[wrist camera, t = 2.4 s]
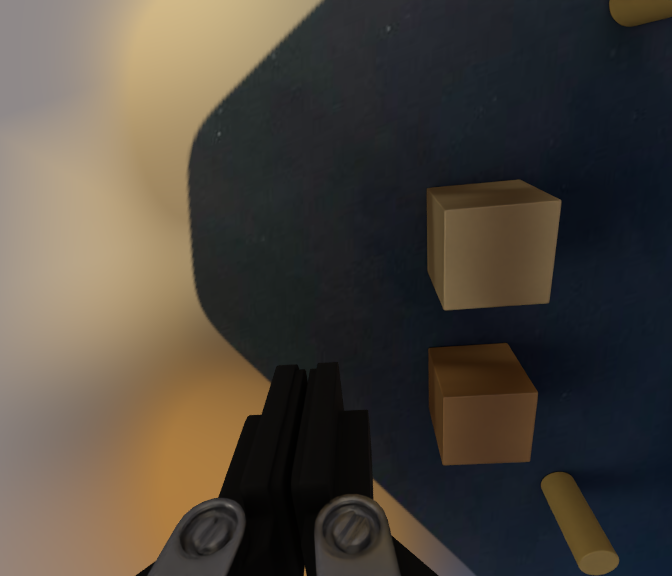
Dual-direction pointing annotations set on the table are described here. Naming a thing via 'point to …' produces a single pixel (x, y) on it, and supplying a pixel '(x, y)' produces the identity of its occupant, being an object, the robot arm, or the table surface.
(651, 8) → the near post
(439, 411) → the oak block
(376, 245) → the table surface
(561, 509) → the far post
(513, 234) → the maple block
